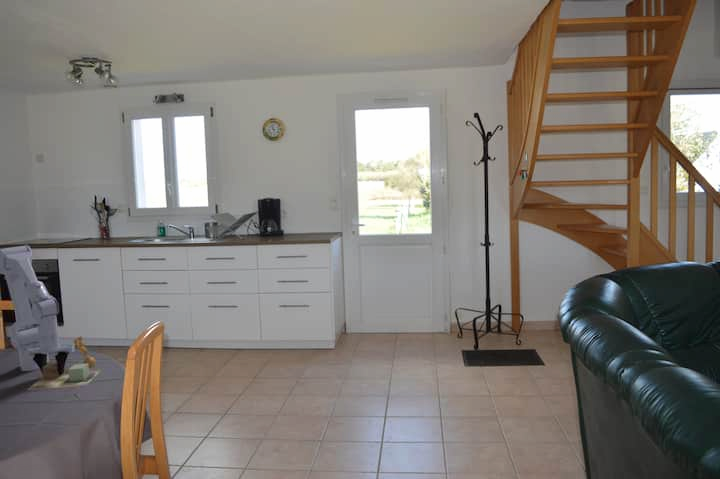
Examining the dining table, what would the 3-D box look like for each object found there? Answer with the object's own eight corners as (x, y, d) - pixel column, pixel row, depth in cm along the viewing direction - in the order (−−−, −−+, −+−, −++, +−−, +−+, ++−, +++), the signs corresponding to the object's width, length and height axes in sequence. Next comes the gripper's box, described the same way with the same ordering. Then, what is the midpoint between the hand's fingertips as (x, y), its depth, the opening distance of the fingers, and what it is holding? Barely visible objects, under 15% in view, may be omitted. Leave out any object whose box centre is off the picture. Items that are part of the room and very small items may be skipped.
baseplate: (47, 376, 183) (46, 373, 183) (102, 372, 185) (102, 368, 185) (26, 393, 169) (26, 389, 169) (86, 389, 171) (85, 385, 171)
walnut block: (49, 373, 182) (48, 362, 182) (63, 372, 183) (62, 361, 182) (43, 379, 178) (42, 367, 177) (57, 378, 178) (56, 366, 178)
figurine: (95, 371, 187) (91, 337, 185) (76, 374, 184) (72, 340, 183) (96, 363, 194) (93, 331, 192) (78, 366, 192) (74, 334, 190)
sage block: (75, 375, 179) (74, 364, 179) (89, 374, 180) (88, 363, 179) (69, 381, 175) (68, 369, 174) (84, 380, 175) (82, 368, 175)
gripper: (19, 340, 174) (24, 380, 176) (66, 337, 175) (71, 377, 177) (30, 333, 181) (35, 372, 183) (75, 330, 182) (79, 369, 184)
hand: (53, 374), depth 180 cm, fingers closed on walnut block, 4 cm apart
